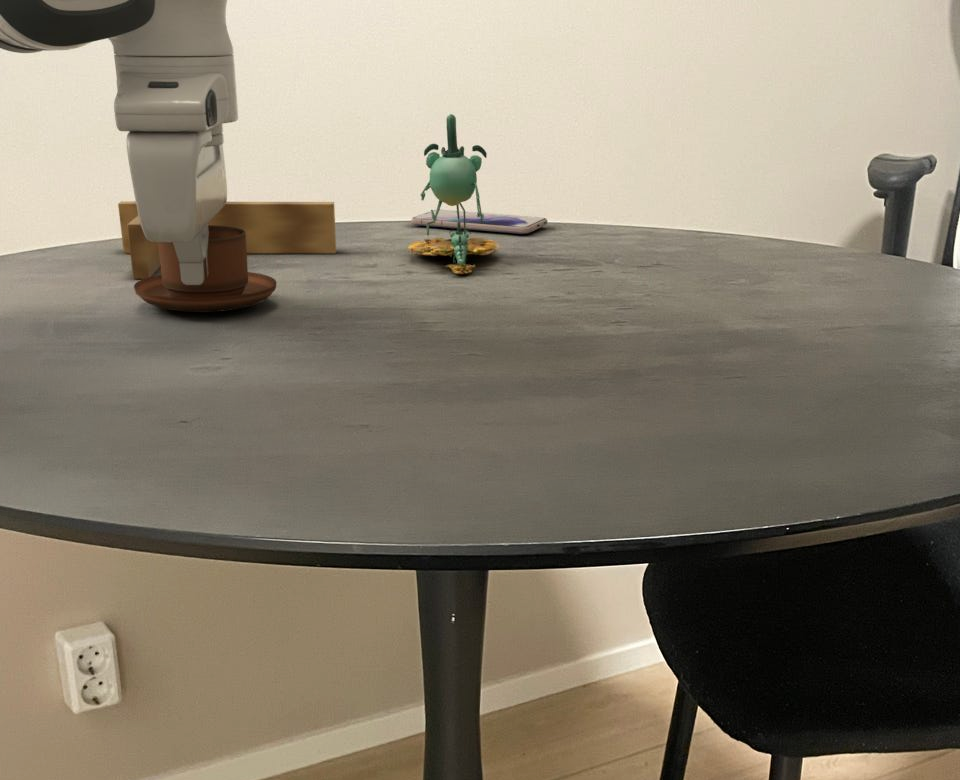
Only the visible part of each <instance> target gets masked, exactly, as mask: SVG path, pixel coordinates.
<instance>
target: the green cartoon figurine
mask: <svg viewBox="0 0 960 780" xmlns="http://www.w3.org/2000/svg"><path fill="white" fill-rule="evenodd" d="M445 121H446V140H447V142H446V143H447V149H446V147H445V146H442V147H441V150H440V149H439V147H440V146H439V145H438V144H437V143H430V144H428V145H427V147H425V149H424V151H423V156H424V157H425V156H427V157H426V159H425V165H426V166H427V168H429V169H430V171H429V180H428V182H427V184H426V185H425V186H424V188H423V190H422V192H421V193H420V198H421V201H424V200H425V198H426V191H428V190H429V189H431V192H432V194H433V196H435V198H436V199H437V200H438V202H437V207H436V209H435V210H436V214H435V215H434V212H433V210H434V209H431V210H430V211H431V214H432V219H433V220H434V221H432V222H429V223H427V226H426V236H427V237H430V226H429V225H430V224H433V223H435V221H436V218H437V215H438V212H439V210H441V206H442V204H443V203H444V204H446V205H448V206H450V207H455V206H456V211H457V217H458V221H457V228H456V230H454V229H451V230H450V231H449V236H450V238H443V237H435V238H432V239H430V238H425V239H423V241H418V240H417V241H413V242H411V244H410V245H408V248H407V249H408V250H409V251H410V253H412V254H414V255H416V256H417V255H418V256H421V255H422V256H432V257H437V256H444V257H447V256H450V258H452V257H453V259H452V263H449V264H447V265H446V264H445V265H444V267H445V268H448V269H451V272H452V273H454V274H456V275H464V274H471V273H472V272H473V270H472V269H473V268H475V267H476V264H473V265H471V264H468V263H466V261H468V258H467V256H468V255H473V256H486V255H490V254H494V253H495V252H496V251H497V250H498V249H499V248H500V247H501V244H499V243H497V242H496V240H494V239H485V238H483V237H470V235H471V234H472V232H471V230H470V229H466V227H465V212H466V209H465V207H464V206H463V204H462V203H463V202H467V201H468V200H470V199H471V198H472V196H473V194H474V193H475V199H476V210H477V211H476V212H477V217H480V216H481V219H480V221H483V218H484V215H483V214H482V213H483V212H482V205H481V200H480V197H481V196H480V193H479V188H478V176H477V172H478V171H479V170H480V169H481V167H482V162H483V161H482V157H481V156H479V155H477V154H475V155H471V156H470V157H467V156H466V155H465V147H464V145H461V146H460V147H458V139H457V138H458V137H457V136H458V135H457V118H456V116H455V115H454V114H452V113H450V114H449V115H447V116H446V120H445ZM433 150H435V151H433ZM438 150H440V152H441V154H440V153H438V152H436V151H438ZM431 151H432V152H431ZM471 151H472V152H479V153H480V154H481V155H482V156H483V157H484V158H485V159H487V157H488V156H487V154H488V153H487V151H486V150H485V149H484V148H483V146H481V145H479V144H475V145H473V146H471ZM460 208H461V210H462V211H464V229H463V230H462V229H461V227H460V219H459V211H460ZM455 259H456V260H455ZM456 261H457V263H456Z"/></svg>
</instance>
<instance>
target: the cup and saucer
mask: <svg viewBox="0 0 960 780" xmlns="http://www.w3.org/2000/svg"><path fill="white" fill-rule="evenodd" d="M208 230H209V237H208V251H207V263H208V276H207V278H206V279H205V280H204V281H203V283H202V284H201V285H185V284H184V283H183V282H182V281H181V273H180V264H179V260H178V257H177V254H176V251H175V247H174V244H173V242H158V248H159V257H160V265H161V266H160V272H161V274H157V275H152V276H151V277H148V278H145V279H139V280H138V281H136V282H135V283H134V285H133V289H134V292H135V295H136V296H138V297H139V298H140V299H141V300H143V302H145V303H147V304H148V305H149V304H150V305H151V306H154V307H157V308H161V309H165V310H170V311H175V312H176V311H177V312H187V313H216V312H226V311H227V312H228V311H233V310H238V309H243V308H247V307H250V306H253V305H257V304H259V303H261V302H263V301H265V300H266V299H268V298H270V297H271V295H272V294H273V293H274V292H275V291H276V288H277V279H275V278H274V277H271V276H270V275H267V274H262V273H257V272H251V271H249V269H248V254H247V249H246V232H245V230H243V229H240V228H236V227H229V226H215V225H208Z"/></svg>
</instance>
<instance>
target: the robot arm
mask: <svg viewBox="0 0 960 780" xmlns="http://www.w3.org/2000/svg"><path fill="white" fill-rule="evenodd" d="M227 4H228V0H0V50H1V49H2V50H4V51H8V52H12V53H15V54H16V53H18V54H34V53H35V54H36V53H41V52H43V51H44V52H45V51H47V52H48V51H49V52H51V51H70V50H74V49H79V48H81V47H85V46H87V45H89V44H92V43H93V42H97V41H102V40H108V41H109V42H110V43H111V44H112V48H113V49H112V50H113V59H114V67H115V74H116V76H115V77H116V90H117V92H116V96H115V98H114V100H113V101H114V102H113V110H114V112H113V113H114V120H115V121H114V122H115V126H116V129H117V130H118V131H119V132H127V134H126V153H127V159H128V167H129V171H130V177H131V183H132V188H133V194H134V199H135V201H136V206H137V211H138V216H139V220H140V224H141V227H142V230H143V232H144V235H145V237H146V239H147V240H148V241H150V242H173V244H174V247H175V251H176V254H177V257H178V260H179V264H180V273H181V281H182V282H183V283H184V284H185V285H201V284H202V283H203V281H204V280H205V279H206V278H207V276H208V263H207V251H208V237H209V230H208V223H209V222H210V221H211V220H212V219H213V217H214V216H215V215H216V214H217V213H218V212H219V211H220V210H221V209H222V208H223V207H224V206H225V205H226V202H228V182H227V172H226V164H225V163H226V162H225V153H224V145H223V144H224V143H225V139H224V138H225V137H224V134H223V132H224V128H223V124H229V123H234V122H238V120H239V107H238V96H237V79H236V65H235V57H234V56H235V55H234V54H235V52H234V47H233V43H232V41H231V38H230V35H229V32H228V26H227V18H226V16H227V15H226V13H227Z"/></svg>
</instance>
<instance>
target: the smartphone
mask: <svg viewBox="0 0 960 780" xmlns="http://www.w3.org/2000/svg"><path fill="white" fill-rule="evenodd" d="M432 210H433V212H434V215H435V214H436V210H437V209H432ZM477 212H478V211H476V212H475V211H465V227H466V230H469V231H484V232H492V233H493V232H495V233H496V232H497V233H507V234H518V235H526V234H529V233H531V232H534V231H536V230H538V229H541V228H543V227H545V226H547V225H548V219H547V218H546V217H539V216H526V215H515V214H501V213H489V212H488V213H487V212H482V214H483V215H484V218H483V221H480V219H481V216H480V217H477ZM459 219H460V227H461V230H464V211H463V210H459ZM432 221H434V220H433V219H432V214H431V210H430V211H427V212H425V213H421V214H419V215H416V216H413V217H412V218H411V224H412V225H414V226H423V227H427V223H429V222H432ZM457 221H458V217H457V210H449V209H440V210H439V212H438V215H437V218H436V221H435V223H433V224H430V225H429V227H435V228H436V227H437V228H446V229H457Z"/></svg>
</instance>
